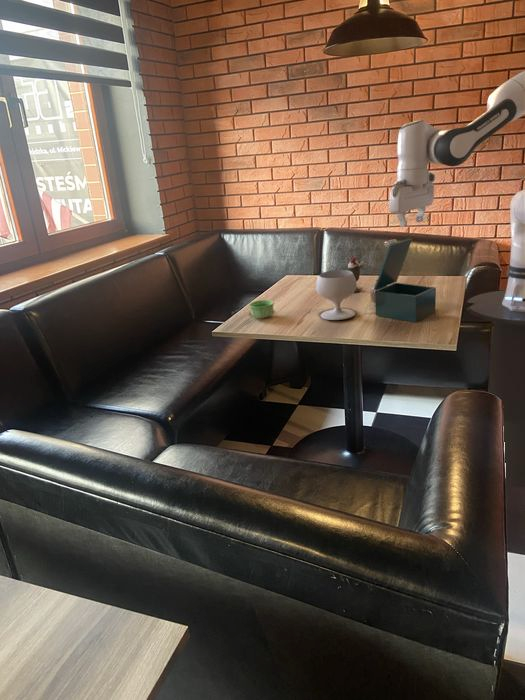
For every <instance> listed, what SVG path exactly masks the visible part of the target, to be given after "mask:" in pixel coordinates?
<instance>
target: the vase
mask: <svg viewBox="0 0 525 700" xmlns="http://www.w3.org/2000/svg"><path fill="white" fill-rule="evenodd" d="M377 280H378V278H377V279H376V280H375V282H374V283H373V284H372V286H371V288H370V293H369V296H370V300H371V301H372V303H374V305H376V302H375V291H376V290H375V286H376V283H377ZM385 287H386V286H385ZM382 288H384V287H382ZM380 289H381V288H380ZM378 290H379V289H378Z"/></svg>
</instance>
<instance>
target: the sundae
mask: <svg viewBox="0 0 525 700" xmlns="http://www.w3.org/2000/svg"><path fill="white" fill-rule="evenodd" d="M353 256H354V254H352V255H351V260H350V261H349V263H348V264H347V265H346V266H345V268H346V270H347V271H351V272H352V273H353V274H354V276H355V279H356V283H357V282H358V281H359V280H360V277H361V268H363V265H362V264H361V261H360V260H358V259H356V258H355V257H353ZM361 290H362V289H361V288H358V287H357V288H356V290H355V292H354V293H358V292H361Z"/></svg>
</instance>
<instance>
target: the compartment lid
mask: <svg viewBox="0 0 525 700" xmlns="http://www.w3.org/2000/svg"><path fill="white" fill-rule="evenodd" d="M412 241H413V238H411V237H410V238H406V239H404V240H400V241H398V240H397V239H396V238H394V239H390V240H386V241H384V247H386V248H387V251H386V254H385V256H384V259H383V262H382V265H381V268H380V271H379V275H378V277H377V279H378V280H377V279H376V280H377V283H376V286H375V290H378V289H380V288H382V287H385V286H389V285H391V284H393V283H398V279H399V277H400V274H401V271H402V268H403V266H404V263H405V260H406V257H407V255H408V252H409V249H410V246H411V244H412Z"/></svg>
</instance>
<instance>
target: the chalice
mask: <svg viewBox="0 0 525 700" xmlns="http://www.w3.org/2000/svg"><path fill="white" fill-rule="evenodd" d="M356 288H358V285H357V282H356V279H355V276H354V274H353V273H352V272H351V271H348V270H347V269H346V270H344V269H336V270H335V269H334V270H328V271H324V272H320V273H319V274H318V276H317V279H316V283H315V290H316V292H317V294H318V295H319V296H320V297H322V298H324V299H326V300H328V301H330V302H332V303H333V305H334V309H330V310H326V311H324V312H322V313H321V314H320V318H322V319H323V320H330V321H340V320H347V319H350V318H353V317H354V316H356V312H355V310H352V309H348V308H347V309H346V308H341V303H342V302H343V301H344V300H345V299H347V298H348V297H350V296H352V295H353V294H354V293H356V292H355V290H356Z"/></svg>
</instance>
